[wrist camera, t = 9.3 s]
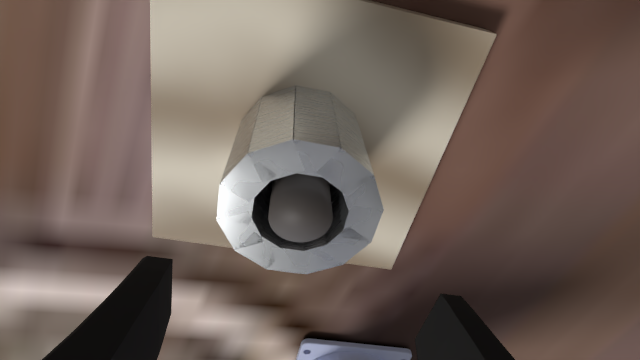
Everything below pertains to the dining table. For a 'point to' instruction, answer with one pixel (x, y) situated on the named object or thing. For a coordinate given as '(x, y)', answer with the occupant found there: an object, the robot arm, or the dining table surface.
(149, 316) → the robot arm
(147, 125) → the dining table surface
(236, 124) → the post stand
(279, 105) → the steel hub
